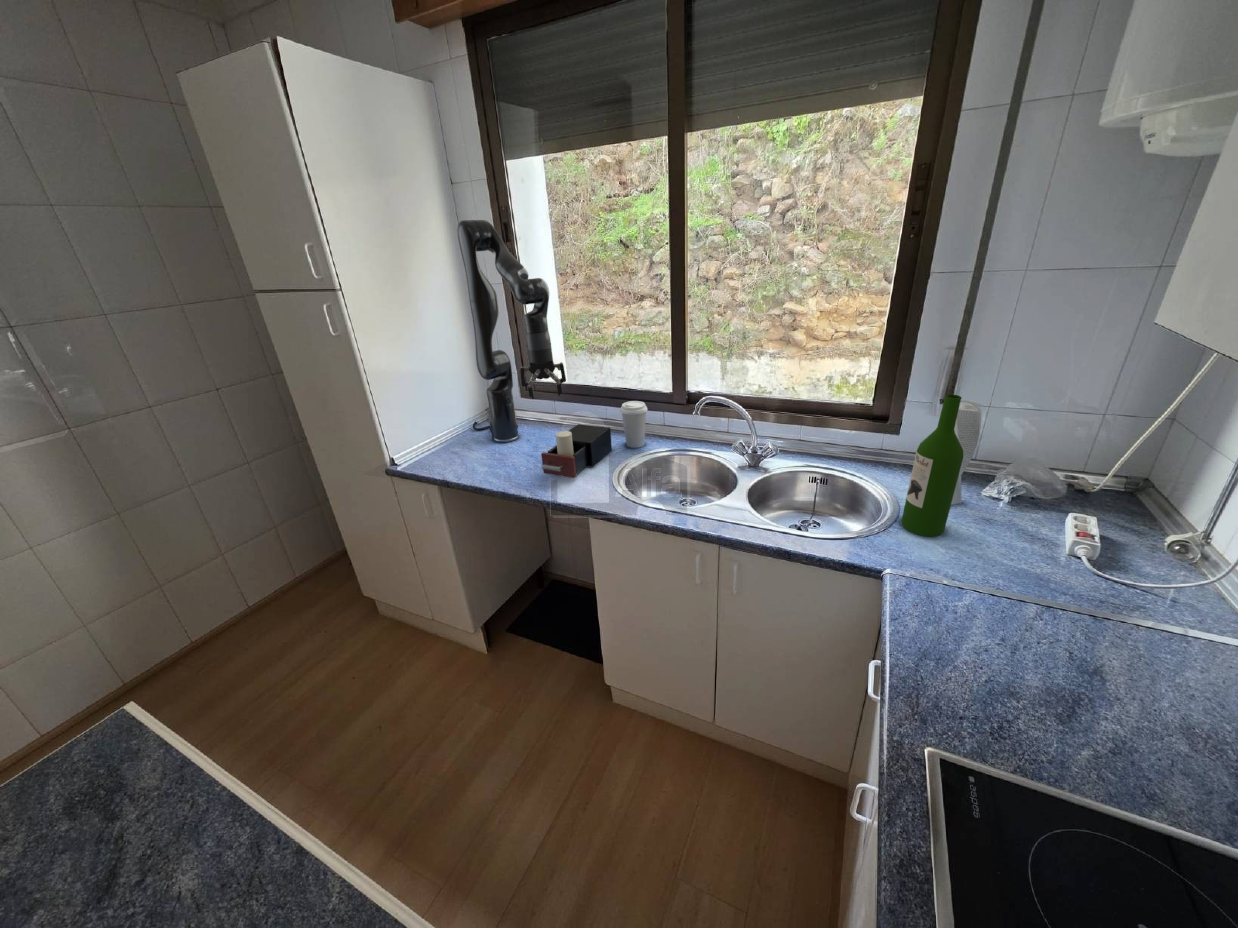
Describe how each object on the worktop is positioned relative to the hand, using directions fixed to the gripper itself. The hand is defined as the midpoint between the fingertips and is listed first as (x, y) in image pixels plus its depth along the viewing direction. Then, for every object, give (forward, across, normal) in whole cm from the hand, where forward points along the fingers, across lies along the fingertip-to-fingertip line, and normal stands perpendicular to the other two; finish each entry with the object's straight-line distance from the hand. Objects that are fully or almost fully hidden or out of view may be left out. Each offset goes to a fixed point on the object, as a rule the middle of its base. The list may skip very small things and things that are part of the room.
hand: (546, 396), depth 159 cm
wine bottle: (+24, -86, +67) cm, 112 cm away
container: (+20, -4, +13) cm, 24 cm away
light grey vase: (+25, -100, +57) cm, 118 cm away
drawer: (+21, -4, +13) cm, 25 cm away
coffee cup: (+22, -29, -4) cm, 37 cm away
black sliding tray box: (+22, -11, +2) cm, 25 cm away
